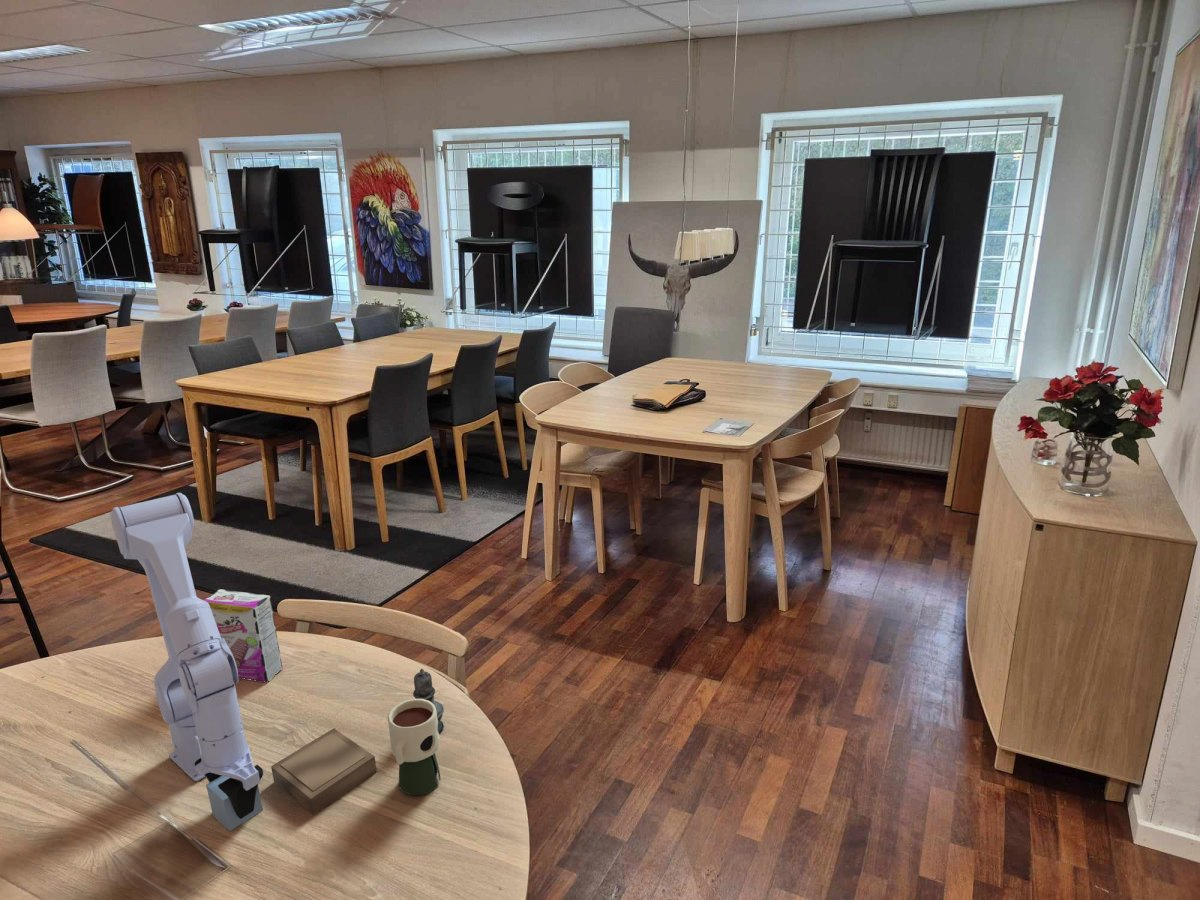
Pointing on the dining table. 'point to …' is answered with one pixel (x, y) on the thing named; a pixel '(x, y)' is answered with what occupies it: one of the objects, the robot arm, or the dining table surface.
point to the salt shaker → (427, 694)
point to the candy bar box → (248, 632)
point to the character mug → (415, 744)
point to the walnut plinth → (323, 770)
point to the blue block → (228, 805)
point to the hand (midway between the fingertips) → (236, 804)
